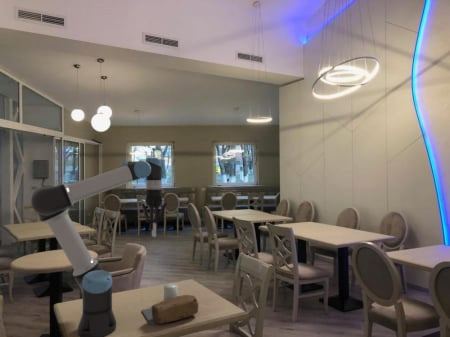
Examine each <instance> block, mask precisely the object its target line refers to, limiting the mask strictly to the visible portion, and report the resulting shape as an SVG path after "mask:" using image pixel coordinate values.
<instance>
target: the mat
mask: <svg viewBox="0 0 450 337" xmlns="http://www.w3.org/2000/svg"><path fill="white" fill-rule="evenodd" d="M141 312H142V314H143V315H144V318H145V319H146V321H147V322H148V323H149V325H150V326H152V325H153V326H154V325H157V324H159V323H157V322H156V321H155V320H154V319H153V317H152V307H150V308H146V309H141ZM186 318H187V317H185V318H184V319H186Z"/></svg>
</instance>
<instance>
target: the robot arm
mask: <svg viewBox="0 0 450 337" xmlns="http://www.w3.org/2000/svg"><path fill="white" fill-rule="evenodd" d="M162 168H163V165H162V158H160V157H147V158H146V159H145V160H137V161H136V160H135V161H130V160H129V161H122V162H121V164H120V167H117V168H114V169H112V170H109V171H106V172H103V173H99V174H97V175H94V176H91V177H88V178H84V179H82V180H79V181H77V182H74V183H69V184H65V183H63V184H60V185H56V186H55V185H54V186H53V185H42V186H40V187H38V188H37V189H36V190H34V192H32V195H31V198H30V205H31V208H32V209H33V211H34V212H36V214H37V215H38V217H39V218H40V220H41V222H42V223H44V224H45V223H46V224H47V225H48V227H49V228H50V230H51V232H52V234H53V235H54V237H55V238H56V241H57V243H59V245H60V247H61V249H62V251H63V253H64V254H65V256H66V257H67V260H68V261H69V263H70V265H71V267H72V268H73V272H72V276H73V278H74V280H75V281H76V283H77V284H78V286H79V288H80V291H81V294H82V313H81V317H80V321H79V323H78V326H77V335H78V336H80V337H106V336H108V335H110V334H112V333H113V332H115V330H116V329H117V320H116V319H117V318H116V317H115V314H114V311H113V278H112V277H113V276H112V274H111V272H109V271H107V270H104V269H103V268H102V266H101V264H100V262H99V260H97V259H94V258H93V257H92V255H91V254H90V252H89V250H88V248H87V246H86V245H85V243H84V241H83V238H82V237H81V235H80V234H79V231H78V230H77V229H76V227H75V225H74V223H73V220H72V218H70V215H69V214H68V212H69V210H70V207H73V206H74V204H75V203H77V202H80V201H83V200H85V199H89V198H90V197H93V196H96V195H99V194H102V193H103V192H107V191H110V190H112V189H114V188H117V187H121V186H123V185H125V184H128V183H131V182H134V181H137V180H140V179H145V180H146V181H145V183H146V184H145V185H146V186H145V187H146V190H145V199H144V201H143V202H141V203H140V206H141V208H142V211H143V213H144V214H143V215H144V219H145V222H146V223H149V230H150V231H151V237H153V238H156V237H157V230H159V223H161V222H162V221H163V217H164V214H165V209H166V206H167V205H168V203H167V202H165V201H164V200H163V198H162V196H163V194H162V191H163V190H162V187H163V186H162V182H163V181H162V180H163V179H162V178H163V177H162V174H163V173H162V171H163V169H162ZM160 205H161V206H160ZM147 206H148V207H149V209H148V208H147ZM159 208H160V211H159ZM148 210H149V213H148Z"/></svg>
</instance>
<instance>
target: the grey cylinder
mask: <svg viewBox="0 0 450 337" xmlns="http://www.w3.org/2000/svg"><path fill="white" fill-rule="evenodd" d="M178 289H179V286H178V284H176V283H167V284H165V285H163V301H164V300H167V299H170V298H174V297H178V296H179V292H178V291H179V290H178Z"/></svg>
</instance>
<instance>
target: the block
mask: <svg viewBox="0 0 450 337" xmlns="http://www.w3.org/2000/svg"><path fill="white" fill-rule="evenodd" d="M151 308H152V317H153V319H154V320H155V321H156V322H157V323H158V324H164V323H165V324H166V323H170V322H175V321H178V320H181V319H186V318H189V317H192V316H194V315H196V314H198V312H199V302H198V300H197V297H196V296H195V295H192V294H191V295H190V294H183V295H178V297H174V298H170V299H167V300H164V299H163V300H162V301H160V302H159V303H155V304H154V305H152V306H151ZM185 317H186V318H185Z"/></svg>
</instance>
